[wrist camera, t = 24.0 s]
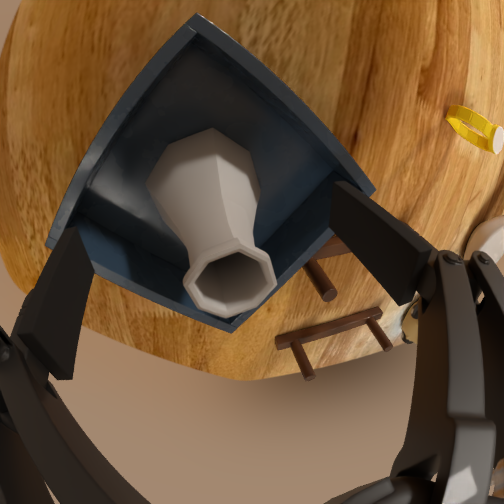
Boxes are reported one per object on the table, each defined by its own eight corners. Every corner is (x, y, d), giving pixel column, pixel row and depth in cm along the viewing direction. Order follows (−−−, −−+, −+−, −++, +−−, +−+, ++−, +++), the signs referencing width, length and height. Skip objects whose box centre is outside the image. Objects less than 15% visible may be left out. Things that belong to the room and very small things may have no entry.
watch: (434, 116, 19) (483, 135, 14) (443, 93, 17) (492, 109, 13) (459, 145, 21) (502, 166, 16) (468, 125, 20) (510, 143, 15)
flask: (215, 107, 15) (263, 134, 7) (276, 190, 19) (351, 282, 11) (126, 181, 16) (85, 284, 8) (196, 250, 20) (217, 366, 12)
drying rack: (274, 342, 30) (291, 386, 25) (276, 246, 23) (304, 296, 18) (376, 312, 33) (400, 345, 28) (404, 223, 25) (442, 257, 20)
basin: (221, 293, 24) (231, 334, 20) (67, 210, 16) (44, 245, 13) (341, 166, 20) (376, 189, 16) (191, 30, 12) (196, 11, 8)
